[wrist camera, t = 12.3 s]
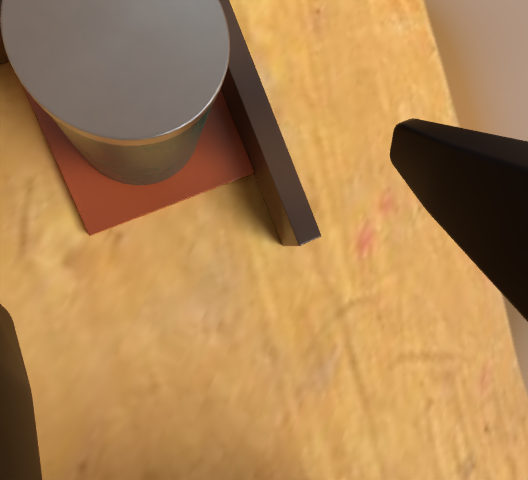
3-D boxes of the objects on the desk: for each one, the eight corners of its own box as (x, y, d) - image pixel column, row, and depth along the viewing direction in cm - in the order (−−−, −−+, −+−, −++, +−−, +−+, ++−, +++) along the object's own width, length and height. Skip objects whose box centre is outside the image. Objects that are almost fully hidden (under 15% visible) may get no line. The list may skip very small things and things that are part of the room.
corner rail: (303, 237, 21) (322, 236, 19) (93, 329, 18) (84, 341, 16) (202, -16, 20) (209, -52, 18) (-36, 43, 17) (-67, 10, 15)
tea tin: (213, 171, 20) (253, 116, 11) (91, 199, 18) (38, 161, 10) (180, 55, 19) (198, -87, 11) (54, 75, 18) (-32, -70, 10)
